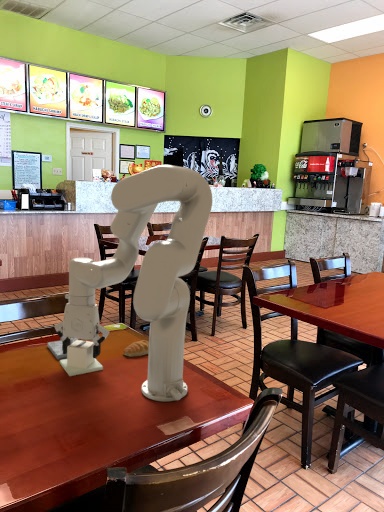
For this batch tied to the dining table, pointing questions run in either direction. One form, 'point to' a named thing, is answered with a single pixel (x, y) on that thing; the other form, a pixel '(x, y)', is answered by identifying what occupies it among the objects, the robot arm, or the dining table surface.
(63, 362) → the coaster
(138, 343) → the pastry
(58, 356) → the post stand
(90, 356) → the white slotted cube
